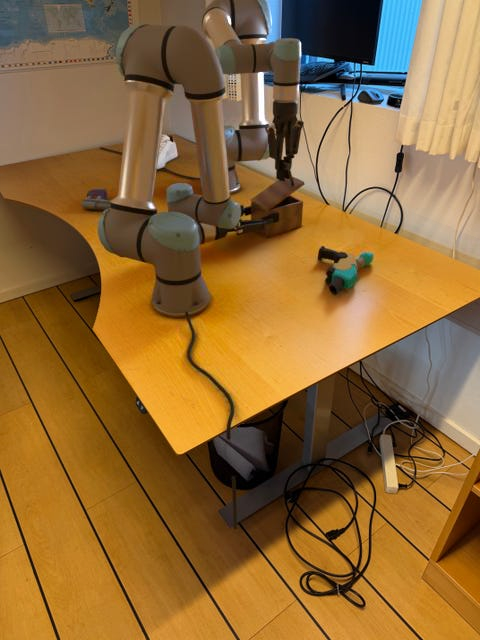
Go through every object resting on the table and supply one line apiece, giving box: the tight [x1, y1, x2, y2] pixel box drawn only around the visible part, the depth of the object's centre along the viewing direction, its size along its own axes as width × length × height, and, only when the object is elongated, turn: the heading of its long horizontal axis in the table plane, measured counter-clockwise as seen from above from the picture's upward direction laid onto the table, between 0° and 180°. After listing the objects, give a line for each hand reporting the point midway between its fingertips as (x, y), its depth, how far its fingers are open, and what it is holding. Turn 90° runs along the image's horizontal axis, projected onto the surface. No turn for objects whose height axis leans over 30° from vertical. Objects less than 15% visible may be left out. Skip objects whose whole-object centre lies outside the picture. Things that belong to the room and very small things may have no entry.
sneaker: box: [157, 133, 179, 170], centre depth 214 cm, size 10×29×12 cm, turn 163°
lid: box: [250, 162, 305, 211], centre depth 152 cm, size 16×9×9 cm, turn 123°
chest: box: [250, 194, 304, 239], centre depth 159 cm, size 15×9×9 cm, turn 123°
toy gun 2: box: [317, 245, 375, 296], centre depth 134 cm, size 4×26×15 cm
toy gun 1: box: [80, 188, 112, 211], centre depth 178 cm, size 4×19×15 cm
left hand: (269, 212), depth 157 cm, fingers closed on chest, 9 cm apart
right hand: (282, 178), depth 153 cm, fingers closed on lid, 2 cm apart
